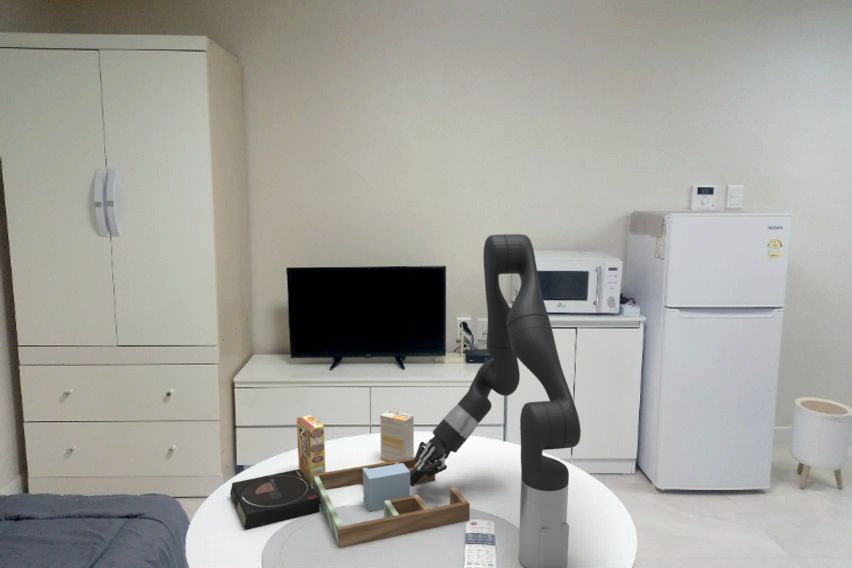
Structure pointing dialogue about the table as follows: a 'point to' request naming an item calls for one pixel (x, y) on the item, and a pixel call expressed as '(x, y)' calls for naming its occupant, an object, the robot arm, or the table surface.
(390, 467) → the brick
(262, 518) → the portable cd player
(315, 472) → the candy box
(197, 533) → the table surface
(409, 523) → the frame
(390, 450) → the supplement box
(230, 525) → the table surface
